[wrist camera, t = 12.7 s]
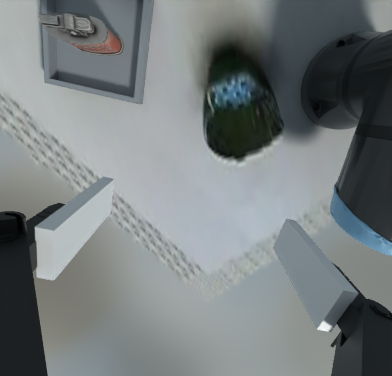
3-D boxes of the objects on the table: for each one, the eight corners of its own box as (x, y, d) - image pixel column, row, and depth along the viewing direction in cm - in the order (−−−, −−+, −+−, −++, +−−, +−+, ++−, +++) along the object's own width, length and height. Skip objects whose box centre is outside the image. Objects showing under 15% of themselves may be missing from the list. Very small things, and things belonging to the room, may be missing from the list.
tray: (153, 1, 33) (150, -9, 30) (142, 104, 39) (138, 103, 36) (52, -27, 32) (39, -39, 29) (55, 84, 37) (44, 82, 34)
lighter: (123, 34, 34) (97, 7, 25) (124, 58, 35) (99, 40, 26) (73, 28, 34) (27, -2, 24) (76, 53, 35) (33, 33, 26)
